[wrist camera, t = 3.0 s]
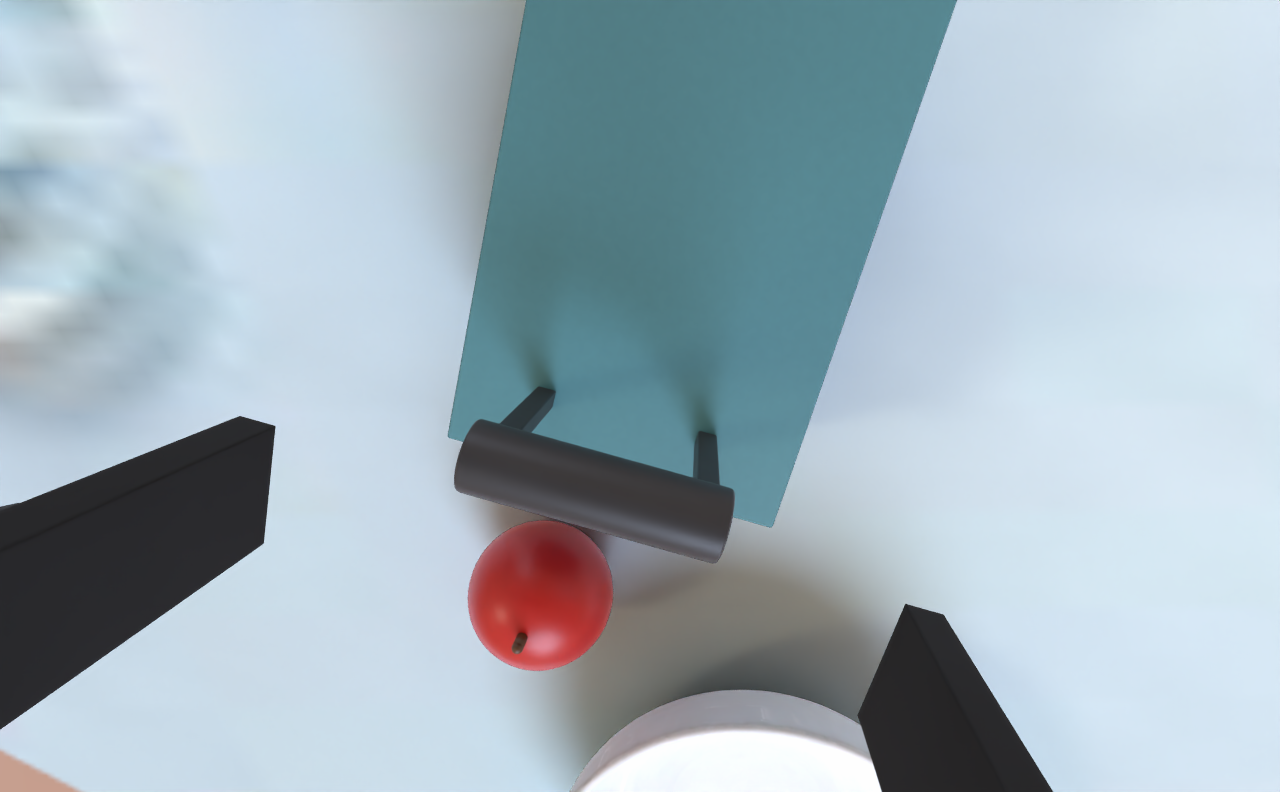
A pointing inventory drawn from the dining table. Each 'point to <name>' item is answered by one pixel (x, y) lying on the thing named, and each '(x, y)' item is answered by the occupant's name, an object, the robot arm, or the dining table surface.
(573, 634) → the apple
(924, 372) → the dining table surface
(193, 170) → the dining table surface
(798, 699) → the serving bowl
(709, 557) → the lid
